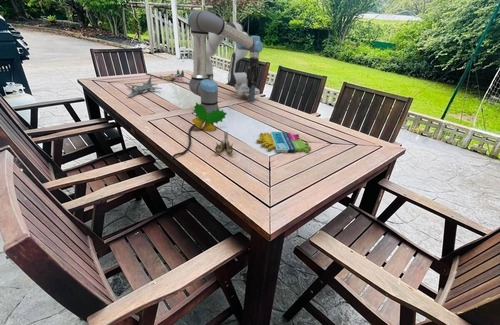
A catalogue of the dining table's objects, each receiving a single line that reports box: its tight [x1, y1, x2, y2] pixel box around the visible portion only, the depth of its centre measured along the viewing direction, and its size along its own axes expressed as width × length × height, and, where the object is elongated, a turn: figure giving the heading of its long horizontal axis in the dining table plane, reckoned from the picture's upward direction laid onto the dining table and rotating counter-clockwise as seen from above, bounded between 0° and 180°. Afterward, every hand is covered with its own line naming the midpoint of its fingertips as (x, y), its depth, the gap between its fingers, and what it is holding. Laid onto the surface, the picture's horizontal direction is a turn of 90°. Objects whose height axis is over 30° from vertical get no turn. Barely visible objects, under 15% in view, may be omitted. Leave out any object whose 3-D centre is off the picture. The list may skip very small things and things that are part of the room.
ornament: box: [191, 102, 228, 132], centre depth 162 cm, size 21×8×15 cm, turn 105°
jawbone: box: [214, 131, 234, 156], centre depth 136 cm, size 9×15×10 cm
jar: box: [247, 85, 256, 103], centre depth 219 cm, size 5×5×16 cm
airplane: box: [127, 75, 162, 98], centre depth 225 cm, size 38×32×10 cm
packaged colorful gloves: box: [256, 131, 312, 154], centre depth 152 cm, size 26×2×30 cm
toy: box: [159, 69, 185, 82], centre depth 278 cm, size 28×7×30 cm
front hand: (252, 86), depth 217 cm, fingers open, 8 cm apart
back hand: (252, 94), depth 220 cm, fingers closed on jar, 5 cm apart
